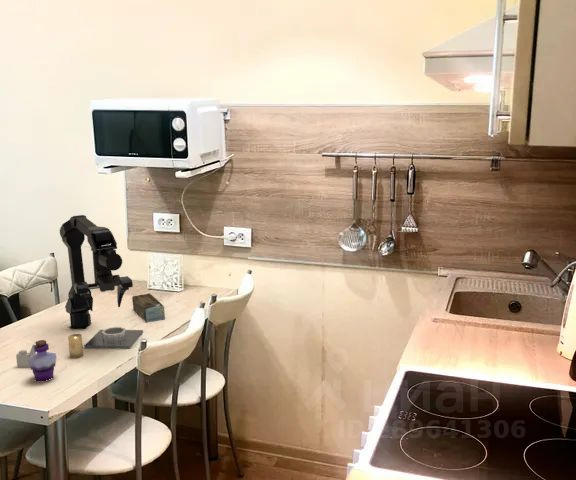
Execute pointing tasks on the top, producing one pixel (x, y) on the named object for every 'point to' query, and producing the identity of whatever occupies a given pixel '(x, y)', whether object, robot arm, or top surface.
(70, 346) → the tan cylinder
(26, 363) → the grey notched block
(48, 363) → the potion bottle
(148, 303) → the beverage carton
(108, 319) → the top surface
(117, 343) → the ring block
